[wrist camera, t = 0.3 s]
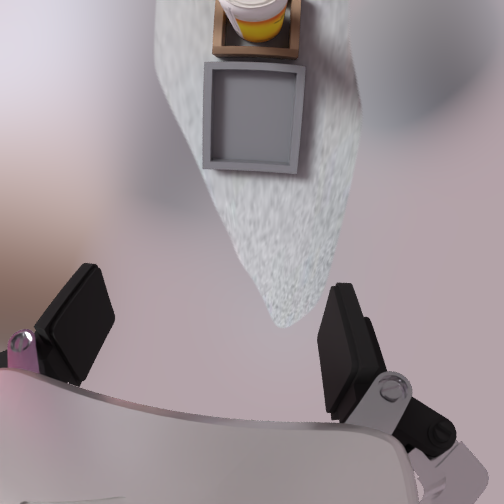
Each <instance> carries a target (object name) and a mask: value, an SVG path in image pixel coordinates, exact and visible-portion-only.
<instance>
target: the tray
mask: <svg viewBox="0 0 504 504" xmlns="http://www.w3.org/2000/svg"><path fill="white" fill-rule="evenodd" d="M305 71H306V66H300V65H290V64H278V63H263V62H204V88H203V169H223V170H245V171H262V172H277V173H289V174H297V167H298V157H299V147H300V136H301V124H302V112H303V99H304V86H305Z"/></svg>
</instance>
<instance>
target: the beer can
mask: <svg viewBox="0 0 504 504" xmlns="http://www.w3.org/2000/svg"><path fill="white" fill-rule="evenodd" d="M287 1H288V0H219V2H220V4H221V6H222V8H223V9H224V11H225V13H226V15H227V17H228V18H229V20H230V22H231V24H232V26H233V28H234V30H235V31H236V33H237V34H238V35H239V36H240V37H241V38H243V39H244V40H247V41H250V42H255V43H260V42H266V41H269V40H271V39H273V38H274V37H275V36H277V35H278V33H279V32H280V30H281V28H282V24H283V19H284V15H285V10H286V5H287Z"/></svg>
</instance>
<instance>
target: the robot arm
mask: <svg viewBox="0 0 504 504" xmlns="http://www.w3.org/2000/svg"><path fill="white" fill-rule="evenodd" d="M114 321H115V314H114V311H113V308H112V305H111V302H110V299H109V296H108V293H107V289H106V286H105V283H104V279H103V276H102V272H101V269H100V268H98V266H97V265H96V264H89V263H84V264H82V265H81V267H80V268H79V269H78V270H77V271H76V272H75V274H74V275H73V276H72V278H70V280H69V281H68V282H67V283H66V285H65V286H64V287H63V289H62V290H61V291H60V292H59V293H58V295H57V296H56V297H55V299H54V300H53V301H52V302H51V304H50V305H49V306H48V308H47V309H46V311H45V312H44V313H43V315H42V316H41V317H40V319H39V320H38V322H37V323H36V324H35V326H34V327H35V329H36V331H35V333H33V332H32V331H31V330H29V329H23V330H19V331H17V332H16V333H14V334H13V335H12V336H11V338H10V339H9V341H8V346H7V347H8V349H7V350H6V351H3V352H0V504H474V503H475V501H476V500H477V498H479V496H480V495H481V494H482V493H483V491H484V490H485V488H486V486H487V484H488V480H489V477H488V472H487V470H486V469H485V468H484V467H483V465H482V464H481V463H480V462H479V461H478V459H477V458H476V457H475V456H474V455H473V454H472V452H471V451H470V450H469V449H468V448H467V447H466V446H465V445H464V444H463V442H462V441H461V442H459V443H458V441H457V440H456V430H455V427H454V425H453V424H452V422H451V421H449V420H448V419H447V418H445V417H444V416H442V415H440V414H439V413H437V412H435V411H434V410H432V409H431V408H429V407H428V406H426V405H424V404H423V403H421V402H420V401H418V400H416V399H415V398H413V397H412V386H411V384H410V382H409V381H408V379H407V378H406V377H404V376H403V375H402V374H400V373H397V372H392V371H388V372H387V369H386V366H385V363H384V359H383V356H382V353H381V350H380V347H379V344H378V341H377V338H376V335H375V332H374V329H373V326H372V323H371V321H370V319H369V318H368V317H363V314H362V311H361V308H360V305H359V302H358V299H357V296H356V294H355V291H354V288H353V285H352V284H351V283H337V284H336V286H332V287H331V289H330V293H329V296H328V300H327V304H326V308H325V311H324V315H323V318H322V322H321V326H320V329H319V332H318V337H317V343H318V350H319V357H320V364H321V372H322V380H323V388H324V397H325V406H326V412H327V413H331V419H332V420H339V421H340V423H319V422H318V423H316V422H274V421H255V420H241V419H230V418H220V417H211V416H203V415H197V414H190V413H184V412H177V411H172V410H166V409H160V408H156V407H151V406H146V405H142V404H137V403H133V402H129V401H125V400H121V399H117V398H113V397H109V396H106V395H102V394H99V393H95V392H92V391H89V390H85V389H82V388H79V387H80V384H81V382H82V381H84V380H85V379H86V377H87V375H88V373H89V371H90V369H91V367H92V365H93V363H94V361H95V359H96V357H97V355H98V353H99V351H100V349H101V347H102V345H103V343H104V341H105V339H106V337H107V335H108V333H109V331H110V329H111V328H112V325H113V323H114ZM68 382H69V384H67V383H68ZM70 384H72V385H70ZM73 385H75V386H73ZM76 386H78V387H76ZM413 471H415V472H416V473H417V475H418V476H419V478H418V480H419V481H420V482H421V484H422V486H423V488H424V495H423V498H422V500H421V501H420V502H419V498H418V491H417V485H416V481H415V476H414V472H413Z"/></svg>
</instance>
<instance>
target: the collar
mask: <svg viewBox="0 0 504 504" xmlns="http://www.w3.org/2000/svg"><path fill="white" fill-rule="evenodd" d="M300 13H301V0H291V10H290V31H289V49H287V48H274V47H256V46H225V35H226V19H227V15H226V13H225V11H224V9H223V8H222V6H221V4H220V2H219V0H216V2H215V16H214V31H213V49H212V54H213V55H215V56H216V57H261V58H277V59H289V60H296V59H297V58H298V53H299V34H300Z"/></svg>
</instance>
